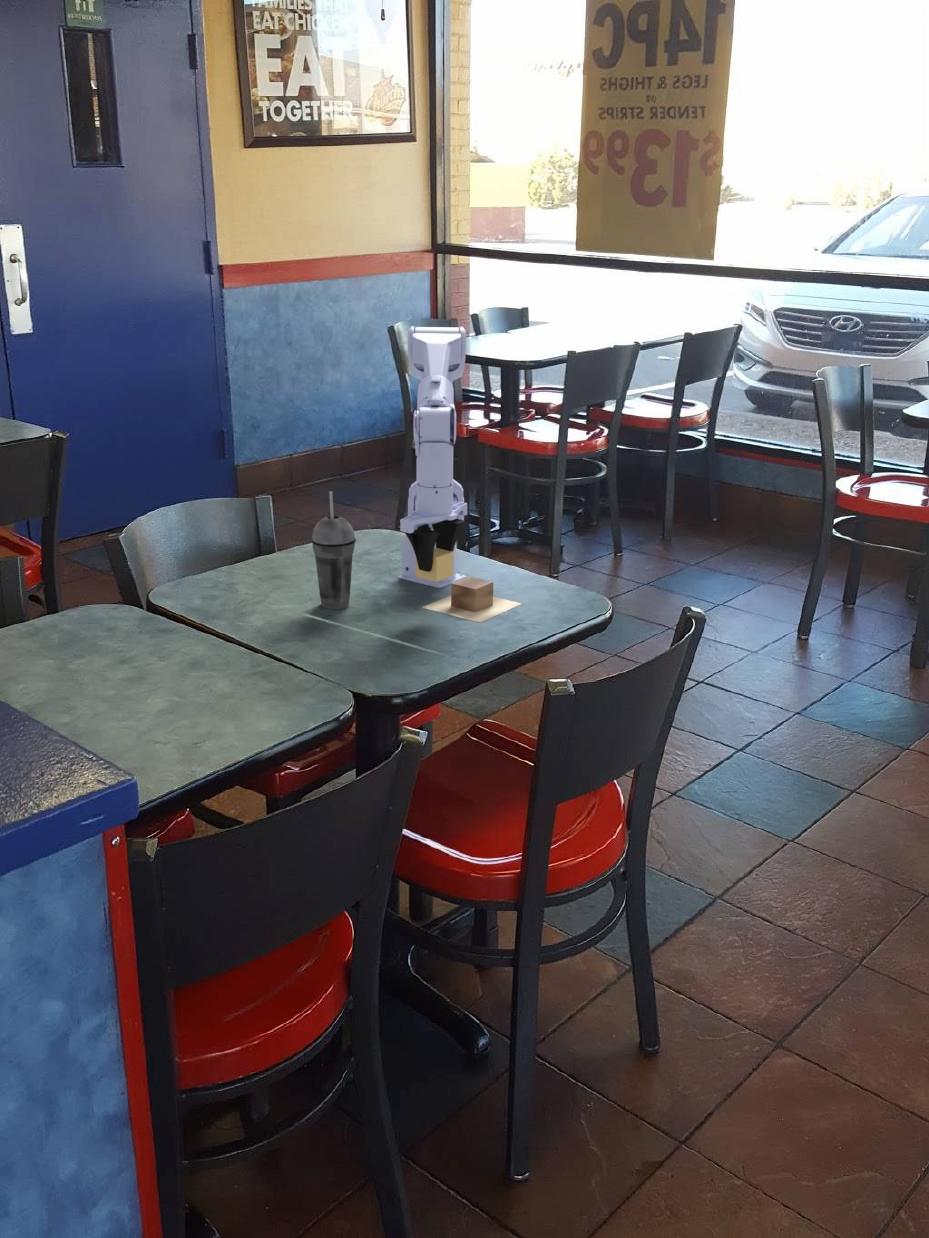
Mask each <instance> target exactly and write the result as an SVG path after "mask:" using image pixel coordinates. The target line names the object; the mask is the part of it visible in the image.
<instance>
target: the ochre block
mask: <svg viewBox="0 0 929 1238" xmlns="http://www.w3.org/2000/svg"><path fill="white" fill-rule="evenodd" d="M450 576H453V552H452V551H448V550H444V549H439V548H435V547H434V553H433V565H432V569H431V571H430V572H427V571H423V570H419V567H418V563H417V559H416V577H420V578H424V579H428V580H432V581H436V582H437V581H440V580H443V579H445V578H448V577H450Z"/></svg>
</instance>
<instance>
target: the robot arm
mask: <svg viewBox="0 0 929 1238" xmlns="http://www.w3.org/2000/svg"><path fill="white" fill-rule="evenodd" d="M466 331H467V330H466V329H465V328H464V326H459V327H458V326H457V327H453V326H452V327H449V326H446V327H445V326H441V327H440V326H415V325H411V326H410V327H409V328H408V330H407V360H408V367H409V368H408V369H409V371H410V375H411V377H413V378H415V379H417V380H418V381H420V383H418V388H417V401H416V405H417V406H416V409H415V410H414V411H413V440H414V447H415V448H414V449H415V456H416V480H415V481H414V482H413V483H412V484H411V485H410V487H409V489H408V497H407V498H408V499H407V516H405V517H402V518H401V519H400V521H399V523H400V524H399V527H400V531H399V532H402V533H404V535H403V537H402V541H401V542H402V543H401V574H400V575H399V576H398V578H399V579H402V580H406V581H410V582H414V583H418V584H422V585H426V586H431V587H434V588H441V589H442V588H444V587H447V586H449V585H451V583H453V582H456V581H458V580H461V579H464V578H466V577H467V575H464V574H460V573H457V541H458V538H459V536H460V533H461V532H462V530H463V529H464V527H465V516H467V515H468V503H467V502H465V497H464V488H463V485H462V484H461V483H459V482H458V481H457V480H455V479H454V445H455V444H456V440H457V412H456V407H455V403H454V400H455V399H454V397H455V396H454V395H455V394H454V386H453V383H454V381H456V380H458V379H460V378H462V377H463V376H464V375H463V374H464V372H465V362H466V353H467V348H466V347H467V344H466V343H467V337H466V336H467V335H466V334H467V333H466ZM451 439H452V440H453V442H452V441H451ZM434 547H435V548H439V549H444V550H448V551H452V552H453V576H450V577H448V578H445V579H443V580H440V581H437V582H436V581H432V580H428V579H424V578H420V577H416V559H417V563H418V567H419V570H423V571H427V572H430V571H431V569H432V565H433V553H434Z"/></svg>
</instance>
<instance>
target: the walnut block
mask: <svg viewBox="0 0 929 1238" xmlns="http://www.w3.org/2000/svg"><path fill="white" fill-rule="evenodd" d="M450 586H451V587H450V588H451V590H450V591H451V592H450V595H451V606H452V607H456V608H460V609H464V610H468V611H472V612H477V611H480V610H482V609H484V608H487V607H489V606H491V605H493V597H494V581H491V580H486V579H482V578H479V577H475V576H470V575H469V576H466V578H464V579H461V580H458V581H456V582H453V583H451V584H450Z"/></svg>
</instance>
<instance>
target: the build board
mask: <svg viewBox="0 0 929 1238" xmlns="http://www.w3.org/2000/svg"><path fill="white" fill-rule="evenodd" d="M520 605H522V603H520V602H517V601H513V600H508V599H504V598H501V597H497V596H493V605H491V606H489V607H487V608H484V609H482V610H480V611H477V612H472V611H468V610H464V609H460V608H456V607H452V606H451V594H450V595H448V596H446V597H443V598H441V599H438V600H436V601H434V602H431V603H428V604H426V605H424V606H422V607H421V608H423V609H427V610H430V611H432V612H433V611H434V612H438V613H441V614H445V615H448V616H452V617H455V618H456V617H457V618H459V619H464V620H467V621H472V622H476V623H479V624H480V623H483V622H486V621H487V620H490V619H491V618H492V619H493V618H494V617H496V616H499V615H500V614H503V613H505V612H508V611H509V610H512V609H514V608H517V607H519V606H520Z"/></svg>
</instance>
